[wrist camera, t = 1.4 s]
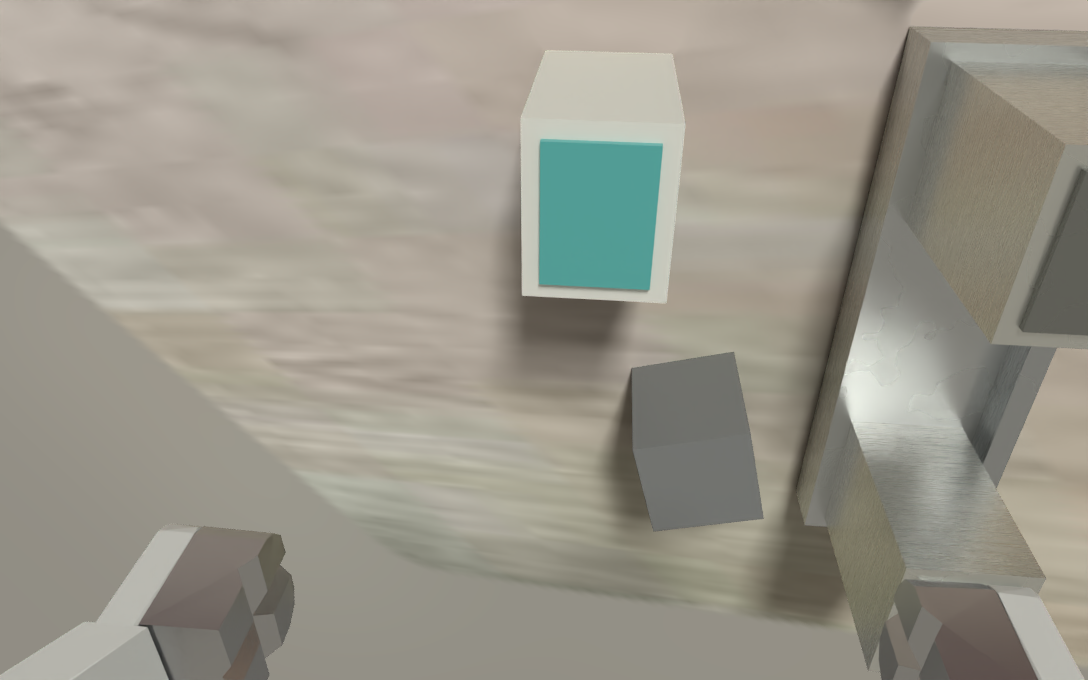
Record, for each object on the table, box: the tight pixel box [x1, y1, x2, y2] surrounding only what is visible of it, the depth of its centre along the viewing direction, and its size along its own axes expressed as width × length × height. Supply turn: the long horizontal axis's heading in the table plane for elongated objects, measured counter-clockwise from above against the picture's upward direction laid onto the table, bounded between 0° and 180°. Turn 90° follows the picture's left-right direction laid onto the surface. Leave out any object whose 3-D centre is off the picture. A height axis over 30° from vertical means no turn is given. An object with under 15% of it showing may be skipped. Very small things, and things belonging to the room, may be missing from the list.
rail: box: [796, 27, 1088, 672], centre depth 25 cm, size 6×19×9 cm, turn 0°
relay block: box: [632, 352, 764, 531], centre depth 30 cm, size 4×4×5 cm
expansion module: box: [521, 50, 686, 303], centre depth 24 cm, size 4×5×7 cm
